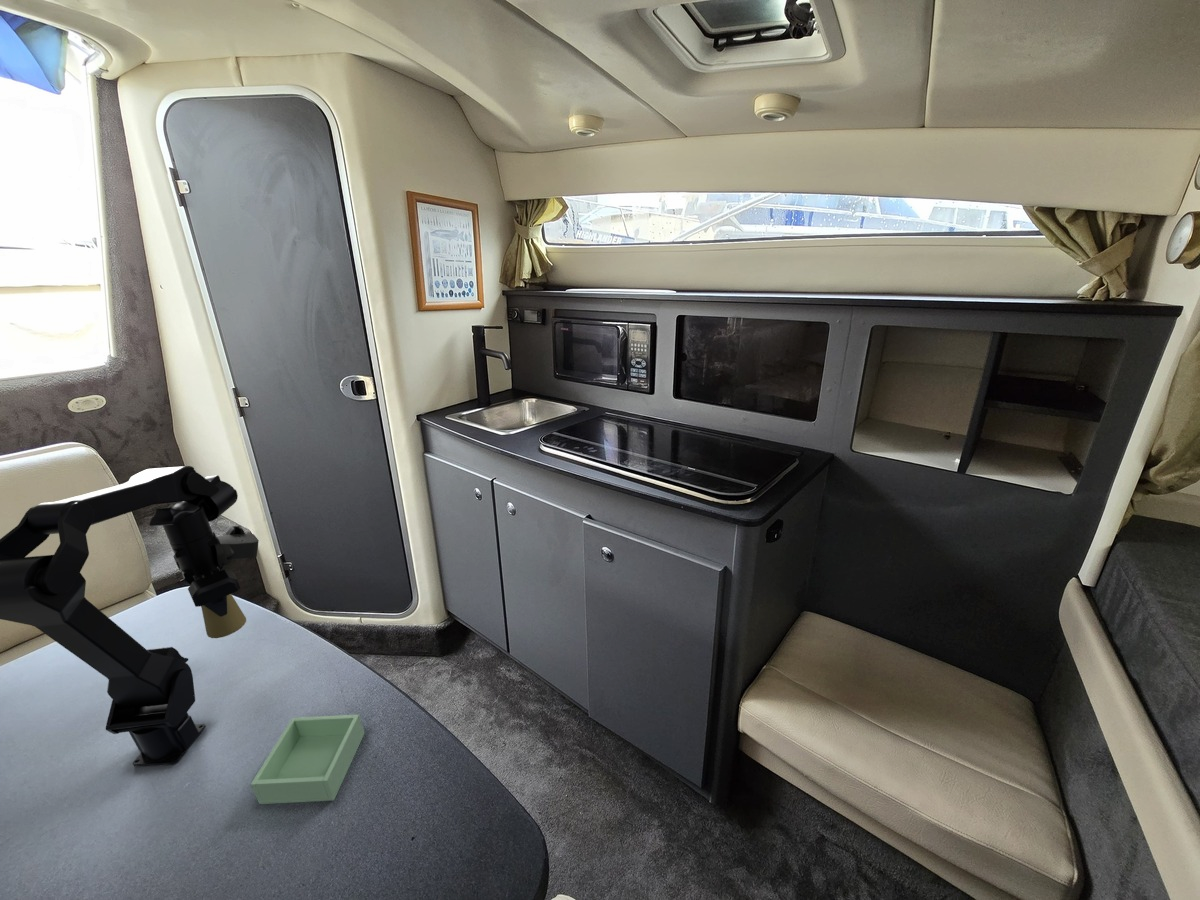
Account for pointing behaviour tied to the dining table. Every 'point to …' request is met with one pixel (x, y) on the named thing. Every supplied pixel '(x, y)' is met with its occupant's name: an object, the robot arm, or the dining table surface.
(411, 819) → the dining table surface
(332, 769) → the tray
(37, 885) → the dining table surface
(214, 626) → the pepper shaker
